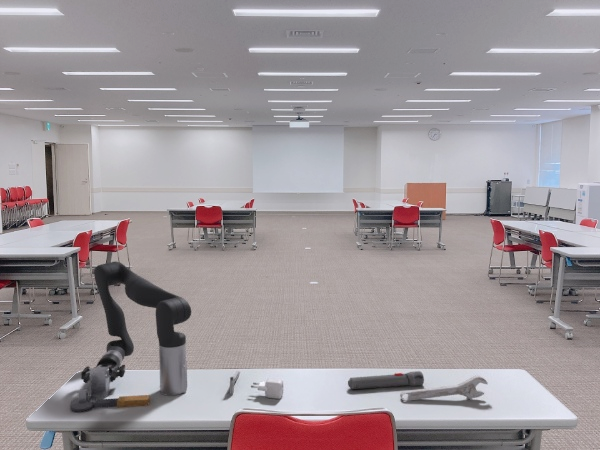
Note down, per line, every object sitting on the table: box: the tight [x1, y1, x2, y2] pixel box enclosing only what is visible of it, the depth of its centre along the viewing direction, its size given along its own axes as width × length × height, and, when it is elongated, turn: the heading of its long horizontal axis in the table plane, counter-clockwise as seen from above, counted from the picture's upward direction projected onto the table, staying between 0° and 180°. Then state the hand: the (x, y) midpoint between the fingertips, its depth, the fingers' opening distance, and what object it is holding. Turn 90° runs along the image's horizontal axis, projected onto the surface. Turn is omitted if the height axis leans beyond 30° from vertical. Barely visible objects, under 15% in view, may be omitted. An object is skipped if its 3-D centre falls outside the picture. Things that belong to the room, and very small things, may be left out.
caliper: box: [229, 370, 241, 396], centre depth 179 cm, size 20×1×6 cm, turn 0°
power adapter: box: [250, 377, 284, 400], centre depth 168 cm, size 11×5×6 cm, turn 76°
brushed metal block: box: [89, 366, 111, 399], centre depth 169 cm, size 5×5×9 cm
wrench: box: [399, 375, 489, 402], centre depth 166 cm, size 8×2×30 cm
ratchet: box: [69, 388, 151, 413], centre depth 161 cm, size 25×8×6 cm, turn 98°
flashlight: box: [347, 370, 425, 390], centre depth 176 cm, size 5×28×5 cm, turn 100°
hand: (98, 380), depth 167 cm, fingers open, 8 cm apart
